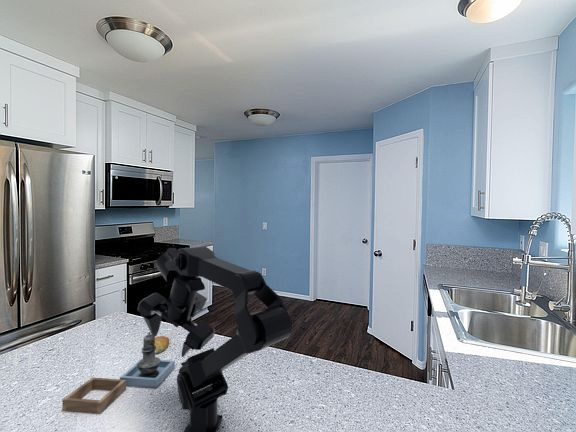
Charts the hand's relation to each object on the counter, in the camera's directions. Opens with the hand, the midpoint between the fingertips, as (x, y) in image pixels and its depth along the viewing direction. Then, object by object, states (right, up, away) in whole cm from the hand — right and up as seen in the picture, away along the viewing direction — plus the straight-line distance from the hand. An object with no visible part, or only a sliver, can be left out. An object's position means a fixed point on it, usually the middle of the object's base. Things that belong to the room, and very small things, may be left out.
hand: (168, 345), depth 75 cm
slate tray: (-9, -12, +8) cm, 17 cm away
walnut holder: (-17, -12, -2) cm, 21 cm away
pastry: (-14, -12, +25) cm, 31 cm away
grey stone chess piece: (-9, -12, +8) cm, 17 cm away
